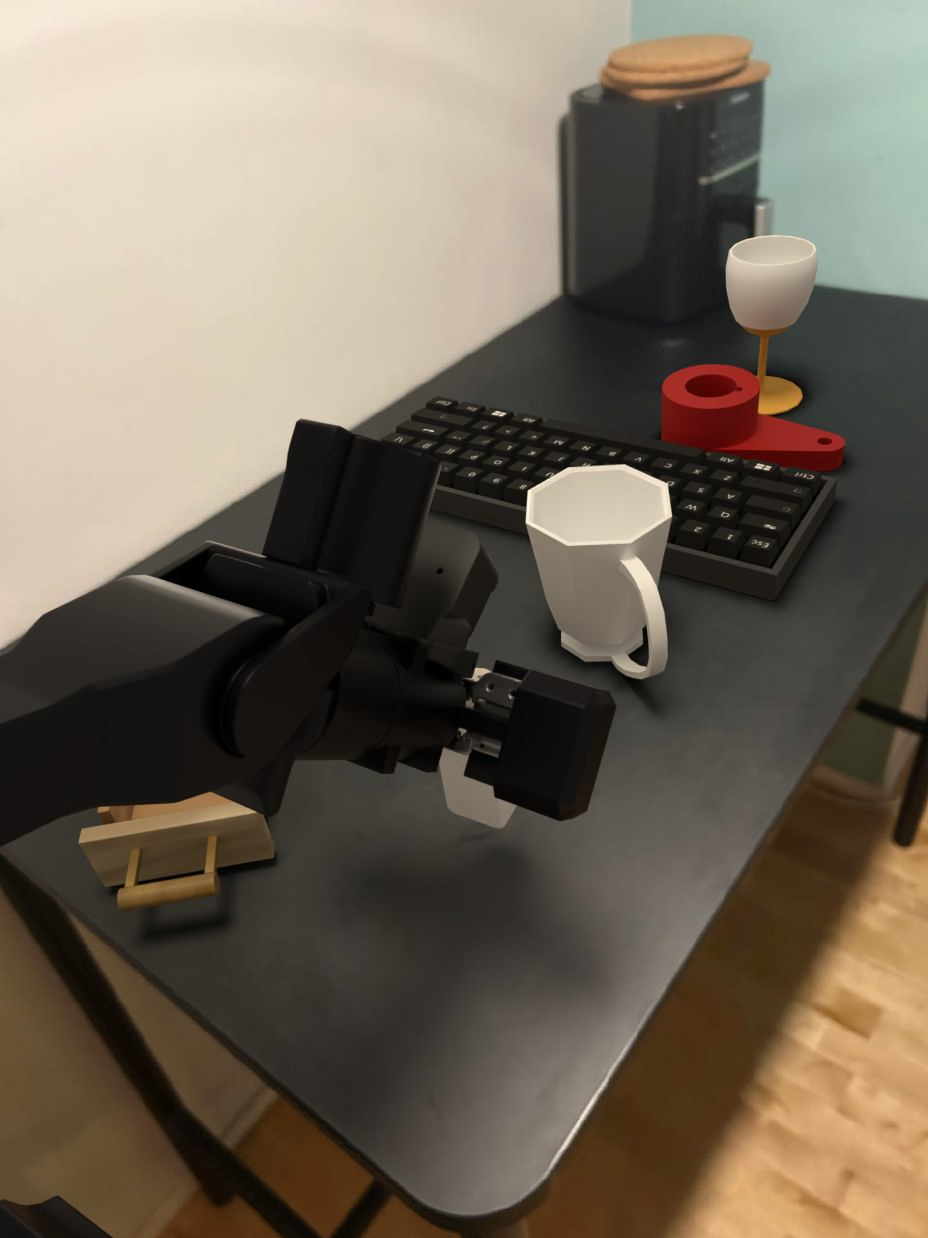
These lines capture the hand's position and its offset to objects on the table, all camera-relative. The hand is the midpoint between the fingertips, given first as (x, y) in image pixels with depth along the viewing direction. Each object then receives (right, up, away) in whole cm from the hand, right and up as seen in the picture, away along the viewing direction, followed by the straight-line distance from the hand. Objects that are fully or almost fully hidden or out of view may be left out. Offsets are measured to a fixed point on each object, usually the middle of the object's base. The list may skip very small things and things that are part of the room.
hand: (489, 708), depth 55 cm
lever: (+28, +22, +43) cm, 56 cm away
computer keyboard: (+10, +17, +40) cm, 45 cm away
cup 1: (+11, +2, +22) cm, 25 cm away
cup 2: (+31, +30, +51) cm, 67 cm away
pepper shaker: (0, -6, +3) cm, 7 cm away
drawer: (-20, -9, +13) cm, 25 cm away
